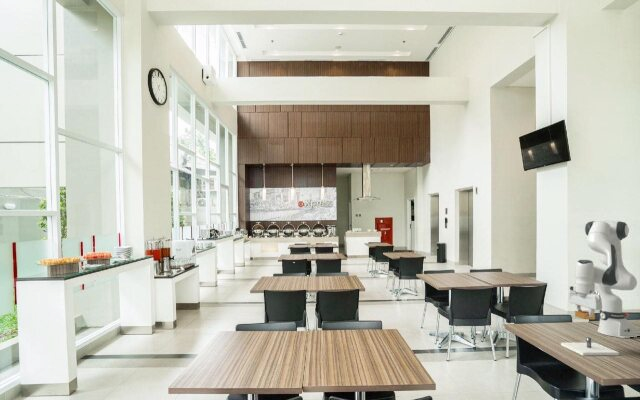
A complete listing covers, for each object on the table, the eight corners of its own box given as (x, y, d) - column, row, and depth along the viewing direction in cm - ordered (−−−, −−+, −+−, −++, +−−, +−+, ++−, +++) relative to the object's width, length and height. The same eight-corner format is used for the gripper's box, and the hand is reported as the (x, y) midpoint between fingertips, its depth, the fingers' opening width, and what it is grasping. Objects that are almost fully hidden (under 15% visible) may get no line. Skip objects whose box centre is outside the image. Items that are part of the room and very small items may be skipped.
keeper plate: (594, 345, 216) (594, 333, 217) (618, 355, 200) (618, 342, 201) (561, 345, 215) (561, 333, 215) (582, 355, 199) (582, 342, 199)
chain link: (586, 316, 215) (586, 311, 215) (595, 319, 209) (594, 313, 209) (575, 316, 215) (575, 310, 215) (583, 319, 208) (583, 313, 208)
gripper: (605, 293, 202) (605, 319, 202) (576, 286, 223) (576, 310, 222) (594, 292, 202) (594, 319, 201) (566, 286, 222) (566, 310, 222)
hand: (585, 314), depth 212 cm, fingers closed on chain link, 6 cm apart
